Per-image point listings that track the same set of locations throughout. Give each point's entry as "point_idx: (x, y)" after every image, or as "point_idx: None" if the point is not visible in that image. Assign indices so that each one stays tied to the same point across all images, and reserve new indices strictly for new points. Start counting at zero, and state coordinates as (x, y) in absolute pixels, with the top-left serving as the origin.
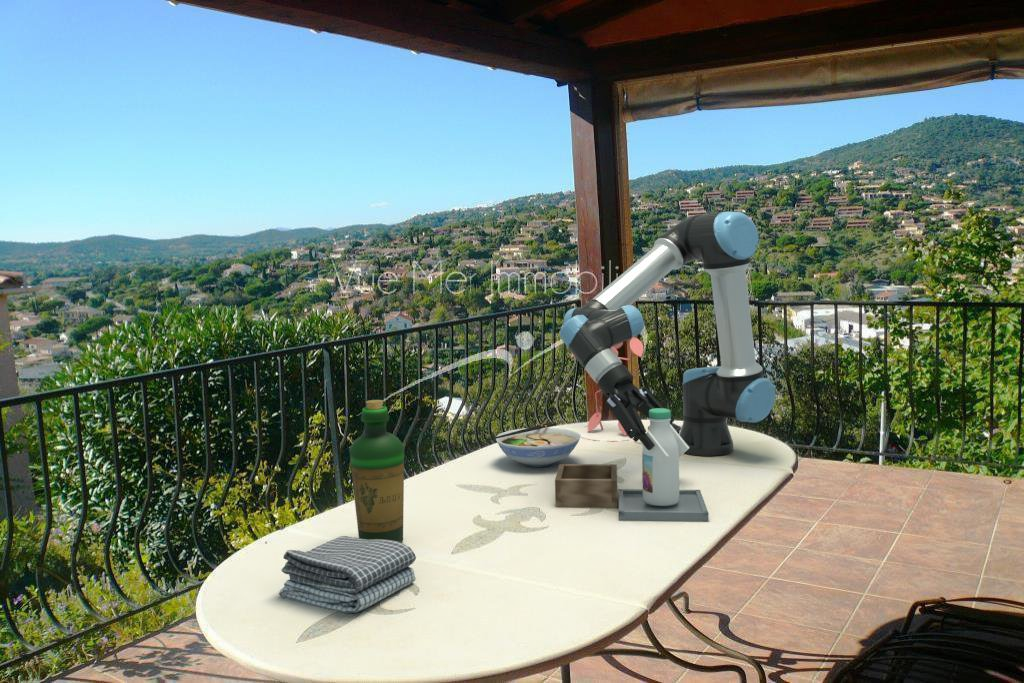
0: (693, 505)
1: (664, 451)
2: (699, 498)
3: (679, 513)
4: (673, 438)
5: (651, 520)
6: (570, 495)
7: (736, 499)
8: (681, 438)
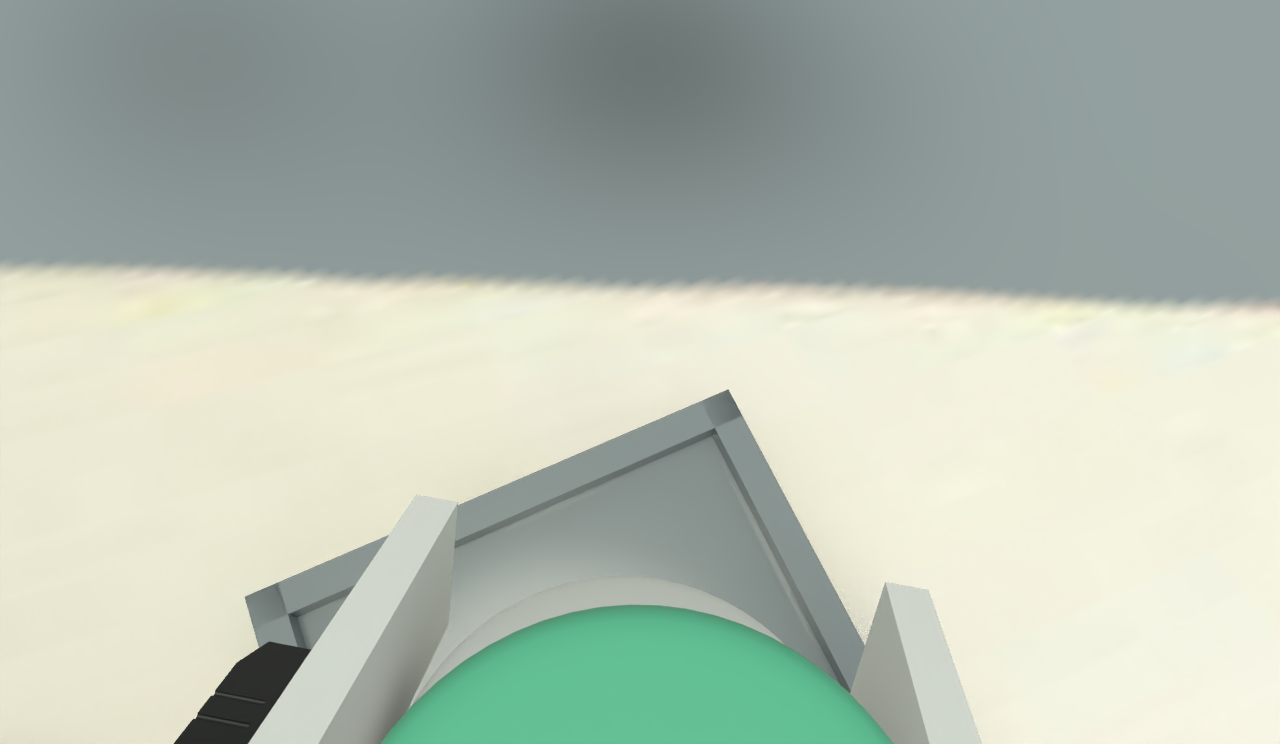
0: (554, 548)
1: (920, 630)
2: (460, 530)
3: (813, 550)
4: (639, 598)
5: None
6: None
7: (235, 382)
8: (368, 585)
